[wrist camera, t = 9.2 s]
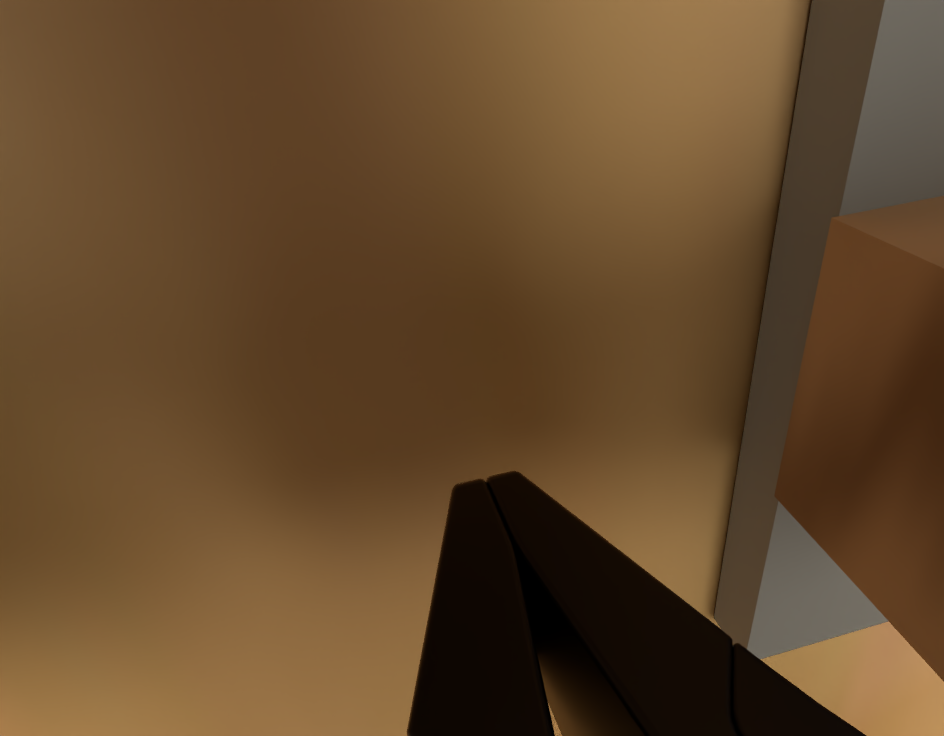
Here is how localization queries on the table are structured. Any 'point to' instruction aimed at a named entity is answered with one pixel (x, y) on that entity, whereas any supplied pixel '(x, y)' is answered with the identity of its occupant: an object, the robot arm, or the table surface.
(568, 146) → the table surface
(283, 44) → the table surface
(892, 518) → the tan rectangular box
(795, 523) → the board
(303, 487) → the table surface
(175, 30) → the table surface
